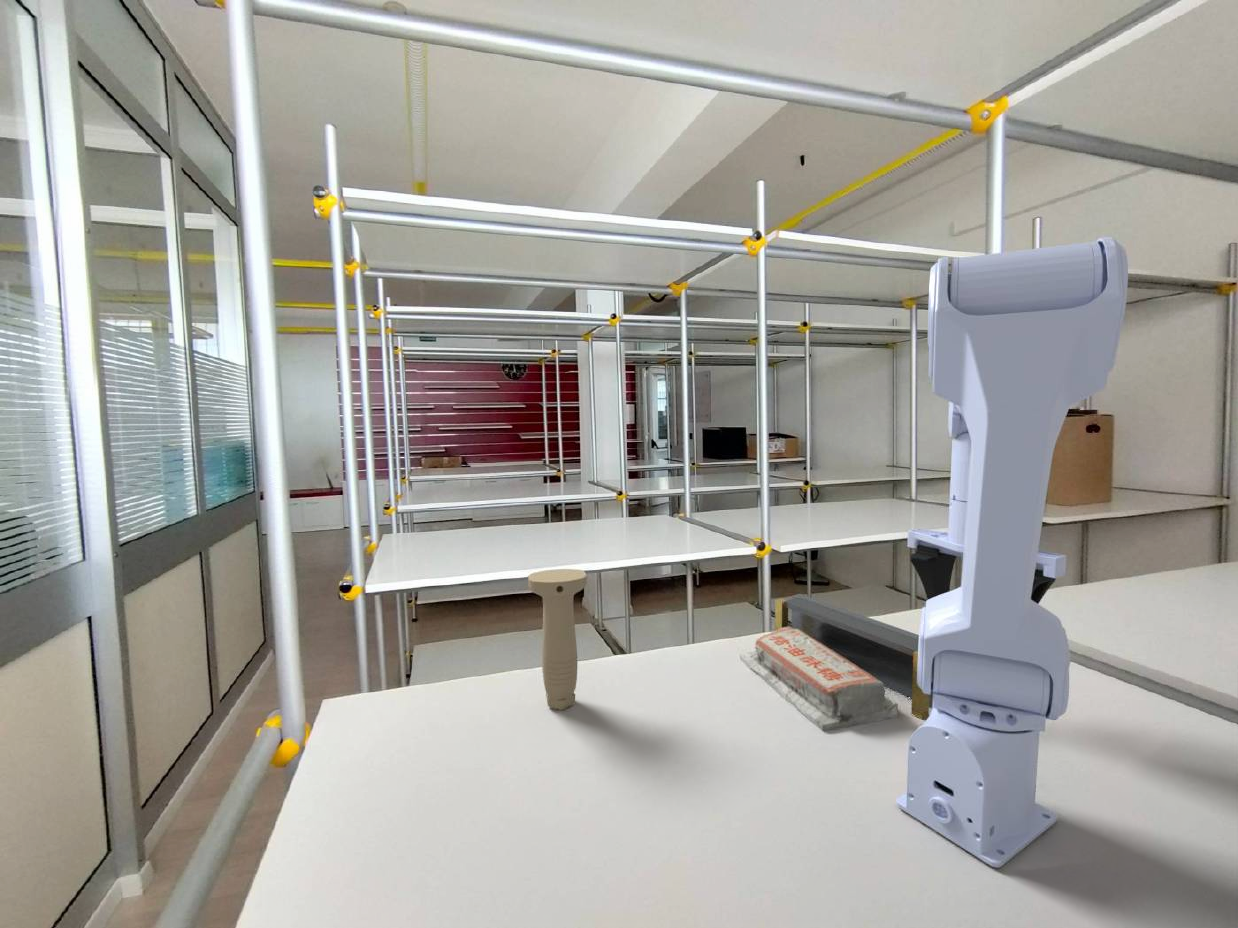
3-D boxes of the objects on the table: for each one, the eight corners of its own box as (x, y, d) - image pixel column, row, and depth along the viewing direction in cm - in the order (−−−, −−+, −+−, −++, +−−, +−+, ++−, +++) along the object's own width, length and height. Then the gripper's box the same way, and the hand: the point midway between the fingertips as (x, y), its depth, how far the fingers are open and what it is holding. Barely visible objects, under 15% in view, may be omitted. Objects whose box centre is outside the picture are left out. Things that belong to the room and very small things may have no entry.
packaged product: (903, 677, 61) (823, 691, 58) (902, 720, 61) (822, 737, 59) (804, 618, 78) (738, 627, 75) (803, 652, 79) (738, 662, 76)
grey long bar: (922, 719, 61) (924, 656, 60) (774, 649, 79) (775, 599, 78) (947, 706, 63) (950, 645, 62) (799, 641, 81) (799, 593, 80)
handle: (531, 696, 67) (527, 571, 65) (585, 690, 68) (583, 567, 66) (533, 718, 62) (529, 584, 60) (592, 711, 63) (589, 579, 62)
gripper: (1084, 505, 54) (1075, 642, 56) (934, 488, 67) (930, 600, 68) (1049, 513, 51) (1040, 659, 52) (897, 493, 63) (893, 612, 65)
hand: (975, 627), depth 60 cm, fingers open, 7 cm apart
